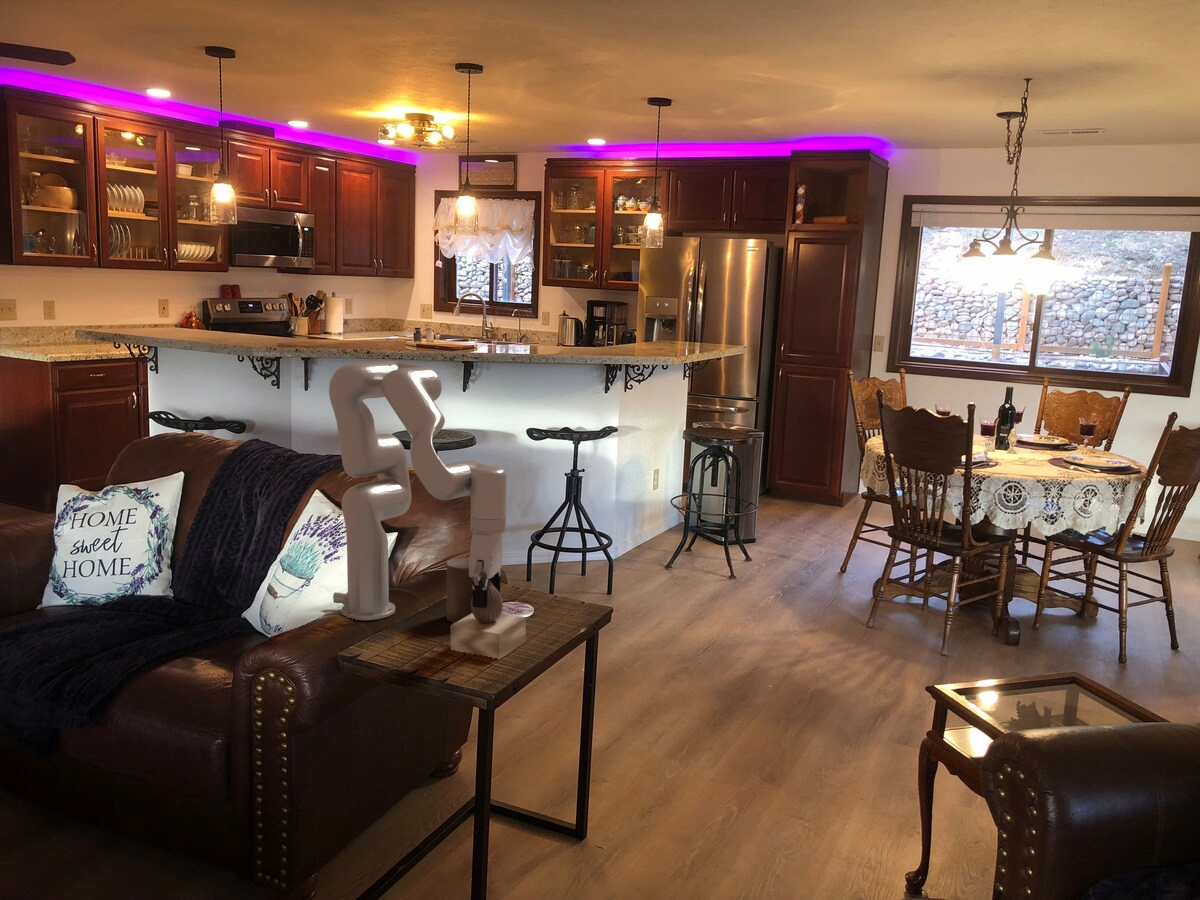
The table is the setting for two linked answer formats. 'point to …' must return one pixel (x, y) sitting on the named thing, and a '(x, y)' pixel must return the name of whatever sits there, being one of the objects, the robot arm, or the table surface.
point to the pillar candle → (458, 589)
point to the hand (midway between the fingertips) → (486, 600)
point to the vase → (489, 606)
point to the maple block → (488, 635)
